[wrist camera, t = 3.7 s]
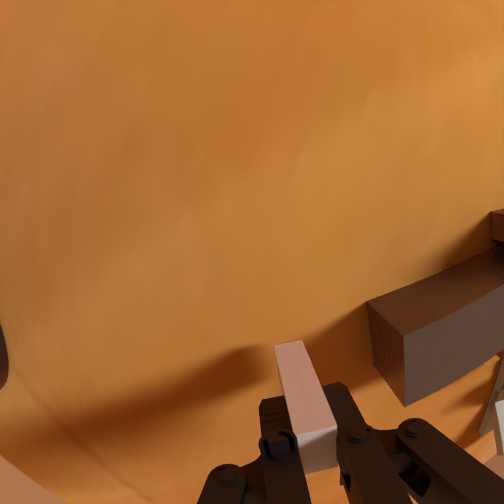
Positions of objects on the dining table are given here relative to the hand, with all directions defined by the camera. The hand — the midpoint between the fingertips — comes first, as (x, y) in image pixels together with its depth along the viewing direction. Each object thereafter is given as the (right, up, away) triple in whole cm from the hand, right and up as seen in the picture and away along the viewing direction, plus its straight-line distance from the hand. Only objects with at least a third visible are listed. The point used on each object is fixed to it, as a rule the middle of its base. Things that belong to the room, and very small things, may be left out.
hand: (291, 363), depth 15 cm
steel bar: (+14, +3, +2) cm, 14 cm away
